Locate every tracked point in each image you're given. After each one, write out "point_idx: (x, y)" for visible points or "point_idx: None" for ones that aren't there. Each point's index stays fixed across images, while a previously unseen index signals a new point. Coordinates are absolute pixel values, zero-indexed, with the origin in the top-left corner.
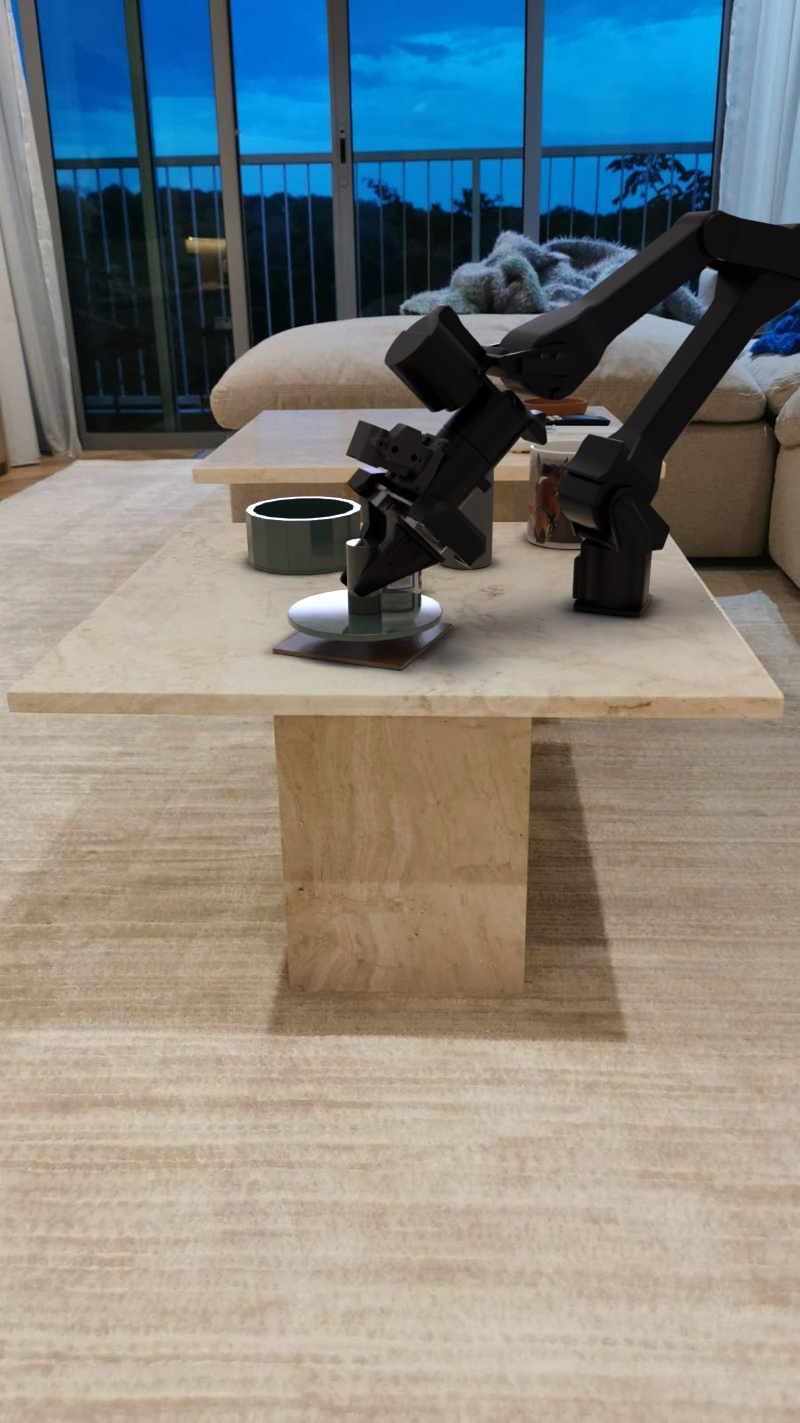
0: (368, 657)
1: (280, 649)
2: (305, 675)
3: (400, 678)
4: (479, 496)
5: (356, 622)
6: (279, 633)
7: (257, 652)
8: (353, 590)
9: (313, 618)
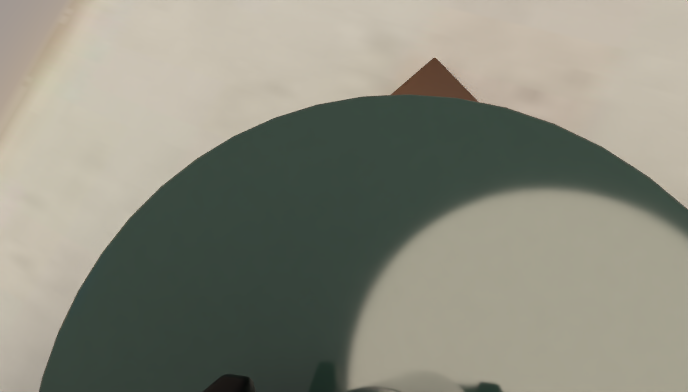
0: None
1: (408, 80)
2: (183, 99)
3: (6, 356)
4: None
5: (225, 343)
6: (670, 159)
7: (472, 18)
8: (237, 376)
9: (378, 192)
